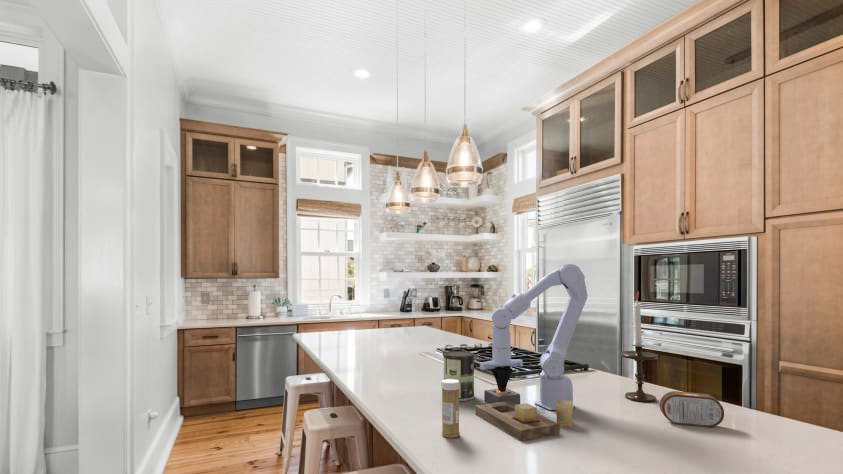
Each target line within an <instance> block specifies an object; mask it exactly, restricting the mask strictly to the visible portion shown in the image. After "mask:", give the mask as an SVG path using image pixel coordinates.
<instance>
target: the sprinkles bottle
mask: <svg viewBox="0 0 843 474" xmlns="http://www.w3.org/2000/svg"><path fill="white" fill-rule="evenodd" d="M441 392H442V393H441V395H442V396H441V399H442V400H441V422H442V423H441V424H442V425H441V426H442V430H441V431H442V432H441V435H442V436H443V437H445V438H450V439H452V438H453V439H454V438H457V437H459V436H460V433H461V432H460V401H459V381H458V380H455V379H445V380H444V379H442V380H441Z"/></svg>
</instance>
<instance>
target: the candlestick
mask: <svg viewBox="0 0 843 474" xmlns="http://www.w3.org/2000/svg"><path fill="white" fill-rule="evenodd" d="M639 295H640V292H639V290H638V291H637V293H636V295H635V302H634V304H633V313H634V314H633V315H634V317H633V318H634V341H635V342H634V343H635V344H631V346H632V347H634V350H624V351H621V352H620V357H621V358H626V359H629V360H634V362H636V371H637V372H636V373H635V374H634V377H635V378H636V379H637V380H636V381H635V384H636V385H637V390H636V391H630V392H626V393H625V395H624V397H625V399H627V400H629V401H633V402H637V403H645V404H647V403H648V404H649V403H655V402H656V401H657V397H656V395H653V394H649V393H646V392H645V391H644V390H643V385H644V384H645V382H644V381H643V379H644V377H645V374H644V373H643V372H642V368H643V367H642V363H643V362H644V361H655V360H658V354H657V353H653V352H651V351H650V352H649V351H643V347H646V345H643V343H642V342H643V341H642V320H641V319H642V318H641V304H639V301H638V299H639Z"/></svg>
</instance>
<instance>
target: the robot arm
mask: <svg viewBox="0 0 843 474" xmlns="http://www.w3.org/2000/svg"><path fill="white" fill-rule="evenodd" d="M585 277H586V275H584V273H583V271H582V270H581V268H580V267H579V266H578V265H576V264H575V263H574V264H573V263H568V264H563V265H560V266H559V267H558V268H556V269H554V270H552V271H550V272H549V273H547V274H546V275H545V276H543V277H542V278H541V279H540V280H539V281H537V282H536V283H535V284H534V285H532V286H531V287H530V288H529V289H528V290H527V291H526V292H525V293H524V292H517V293H513V294H512V295H511V298H510V299H509V300H507V301H505V303H504V304H502V303H501V304H500V305H499V307H500V308H497V309H495V310H494V311H493V312H492V315H491V321H492V323H493V324H492V327H491V328H492V332H491V340H492V341H491V348H492V350H491V351H492V352H491V353H492V356H491V357H492V360H487V361H483V362H481V361H480V363H479V369H480V370H482V371H484V370H485V371H486V370H490V371H491V372H492V375H493V377H494V379H495V382H496V386H497V389H498V391H501V392H505V391H506V388H508V387H507V386H508V383H509V379H510V377H511V376H512V373H513V367H523V366H524V365H523V364H524V363H523V359H520V358H519V359H515V358H514V359H512V358H511V356H512V354H511V353H512V352H511V349H512V348H511V344H512V343H511V341H512V340H511V332H510V331H511V330H510V325H511V324H512V320H515V319H517V318H518V317H520V315H522V314H523V313H525V312H526V311H527V310H529V308H531V302H532V301H533V300H535V299H536V298H537V297H539V296H540V295H541V294H543V293H544V292H545V291H547V290H548V289H549V288H552V287H555V286H556V287H557V286H562V285H563V287H564V288H565V290H566V292H567V294H568V295H569V296H568V297H569V298H568V300H567V303H566V305H565V308H564V310H563V312H562V315H561V318H560V319H559V323H558V326H557V328H556V330H555V332H554V335H553V337H552V341H551V342H550V343H549V344H548V346H547V349H546V351H545V352H544V353H543V354H541V356H540V358H539V365H540V367H541V369H542V370H541V372H540V373H539V395H540V396H539V398H540V400H538V401H534V403H533V404H535V405H537V406H539V407H542V408H544V409H545V410H548V411H556V403H557V400H567V401H573V402H574V394H573V393H574V390H573V389H574V388H573V382H572V379H571V378H570V377H569V376H568V375H565V374H564V372H565V360H566V357H567V351H568V350H567V349H568V347H569V345H570V342H571V339H572V337H573V334H574V332H575V331H576V330H575V329H576V327H577V324H578V322H579V321H580V317H581V314H582V312H583V310H584V307H585V305H586V301H588V300H587V299H588V296H589V295H588V290H587V285H586V280H585ZM575 407H576V405H575V404H573V408H575Z"/></svg>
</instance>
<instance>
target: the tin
mask: <svg viewBox="0 0 843 474" xmlns="http://www.w3.org/2000/svg"><path fill="white" fill-rule="evenodd" d="M659 409H660V411H661V413H662V414H663V416H664V417H665V418H666V420H668V421H669V422H671V423H673V424H675V425H681V426H682V425H683V426H690V427H691V426H692V427H693V426H694V427H703V428H715V427H717V426H718V425H720V424H721V423H722V422H723V421H724V418H725V409H724V407H723V405H722V404H721V403H720V401H719V400H718V399H717V398H716V397H714V396H713V395H712V394H708V393H701V392H699V393H698V392H688V391H687V392H686V391H679V390H678V391H677V390H676V391H675V390H672V391H669V392H667V393H665V394H663V396H662V397H661V399H660V400H659Z"/></svg>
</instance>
